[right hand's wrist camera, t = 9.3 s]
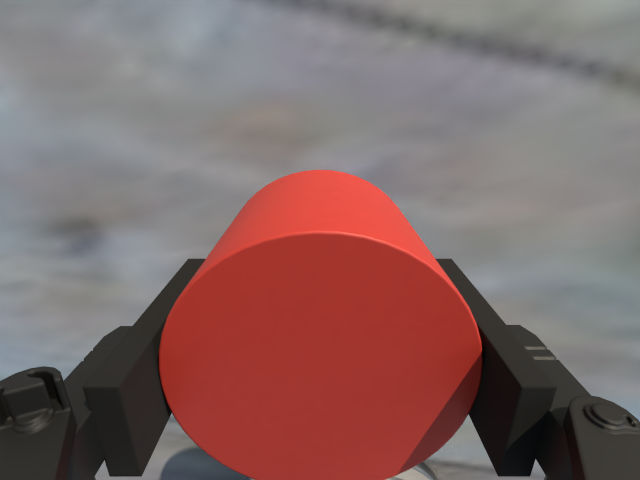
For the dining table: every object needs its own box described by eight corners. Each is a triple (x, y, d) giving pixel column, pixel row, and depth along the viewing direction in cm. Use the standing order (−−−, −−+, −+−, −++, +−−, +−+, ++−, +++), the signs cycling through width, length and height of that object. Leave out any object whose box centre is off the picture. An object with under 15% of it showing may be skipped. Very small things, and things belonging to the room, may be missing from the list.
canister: (295, 127, 14) (273, 152, 7) (452, 242, 16) (554, 352, 9) (193, 281, 17) (103, 410, 10) (339, 366, 19) (350, 527, 12)
